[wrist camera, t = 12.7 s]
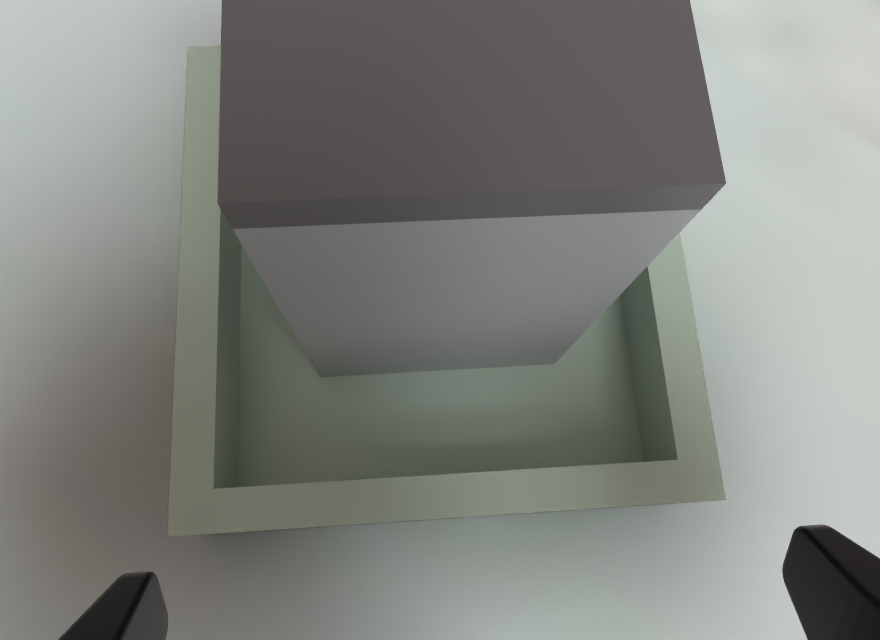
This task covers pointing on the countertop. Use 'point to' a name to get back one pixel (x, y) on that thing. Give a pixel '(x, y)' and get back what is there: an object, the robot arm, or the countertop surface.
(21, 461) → the countertop surface
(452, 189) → the grey rectangular block
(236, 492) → the tray
